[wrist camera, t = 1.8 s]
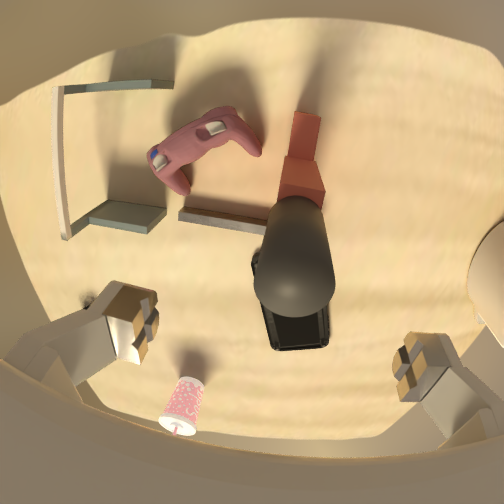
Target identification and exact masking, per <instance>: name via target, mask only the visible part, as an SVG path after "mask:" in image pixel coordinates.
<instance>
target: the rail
mask: <svg viewBox="0 0 504 504" xmlns="http://www.w3.org/2000/svg"><path fill="white" fill-rule="evenodd" d="M178 221H184V222H190V223H196V224H202V225H208V226H214V227H219V228H225V229H231V230H237V231H243V232H248V233H254V234H259V235H264V234H265V230H266V226H267V220H261V219H255V218H250V217H244V216H238V215H232V214H226V213H220V212H214V211H208V210H201V209H195V208H188V207H183V208H182V209H181V210H180V211H179V214H178Z"/></svg>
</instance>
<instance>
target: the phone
mask: <svg viewBox="0 0 504 504" xmlns="http://www.w3.org/2000/svg"><path fill="white" fill-rule="evenodd" d="M259 255H260V252H259V253H256V254H255V255H254V256H253V258H252V261H251V267H252V271H253V275H254V276H255V272H256V268H257V264H258V260H259ZM260 304H261V308H262V312H263V316H264V320H265V324H266V328H267V333H268V337H269V341H270V345H271V347H272V348H273V349H274V350H276V351H291V350H304V349H316V348H323V347H326V346H327V345H328V343H329V331H328V328H329V323H328V321H329V320H328V316H327V305H326V306H325V307H324V308H322V309H321V310H319V311H318V312H316V313H313V314H311V315H308V316H303V317H286V316H282V315H279V314H276V313H274V312H272V311H270V310H269V309H267V308H266V307H265V306H264V305H263V304H262V303H261V302H260Z"/></svg>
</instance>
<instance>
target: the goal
mask: <svg viewBox="0 0 504 504" xmlns="http://www.w3.org/2000/svg"><path fill="white" fill-rule="evenodd" d="M173 86H174V81H164V80H152V79H151V80H128V81H114V82H102V83H93V84H82V85H67V86H57V87H52V107H51V140H52V162H53V176H54V187H55V196H56V204H57V212H58V219H59V225H60V231H61V237H62V240H66V241H68V240H69V239H70V238H72V237H73V236H74V235H75V234H77V233H78V232H79V231H81V230H82V229H83V228H85V227H86V226H87V225H89V224H93V225H99V226H104V227H110V228H115V229H121V230H126V231H131V232H137V233H142V234H148V233H149V232H150V231H151V230H152V229H153V228H154V227H155V226H156V225H157V224H158V223H159V222H160V221H161V220H162V219H163V218H164V217H165V216H166V208H160V207H154V206H147V205H140V204H133V203H126V202H119V201H112V200H106V201H105V202H103V203H102V204H100V205H99V206H97V207H96V208H94V209H93V210H91V211H90V212H88V213H87V214H85V215H84V216H83V217H81V218H80V219H78V220H77V221H75V222H74V223H73V224H71V225H70V219H69V212H68V203H67V194H66V183H65V170H64V150H63V104H64V95H65V94H74V93H84V92H97V91H113V90H133V89H173Z"/></svg>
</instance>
